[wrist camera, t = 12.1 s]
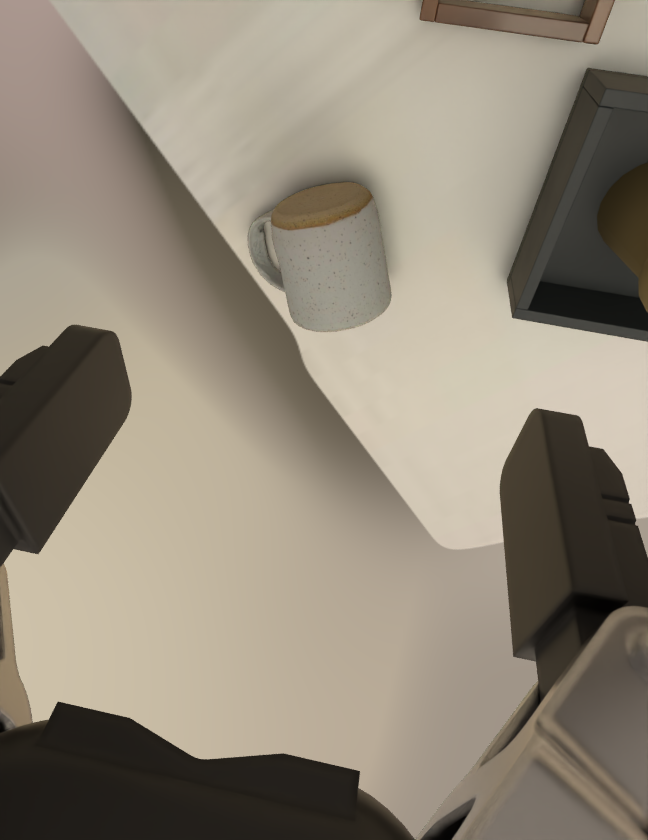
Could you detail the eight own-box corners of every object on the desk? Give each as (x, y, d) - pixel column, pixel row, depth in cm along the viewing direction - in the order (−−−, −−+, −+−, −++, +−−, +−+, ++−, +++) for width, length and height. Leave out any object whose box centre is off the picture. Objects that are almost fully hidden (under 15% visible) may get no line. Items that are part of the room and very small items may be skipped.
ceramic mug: (379, 166, 35) (363, 211, 29) (397, 276, 40) (386, 332, 35) (238, 194, 38) (200, 239, 33) (271, 292, 43) (243, 345, 38)
